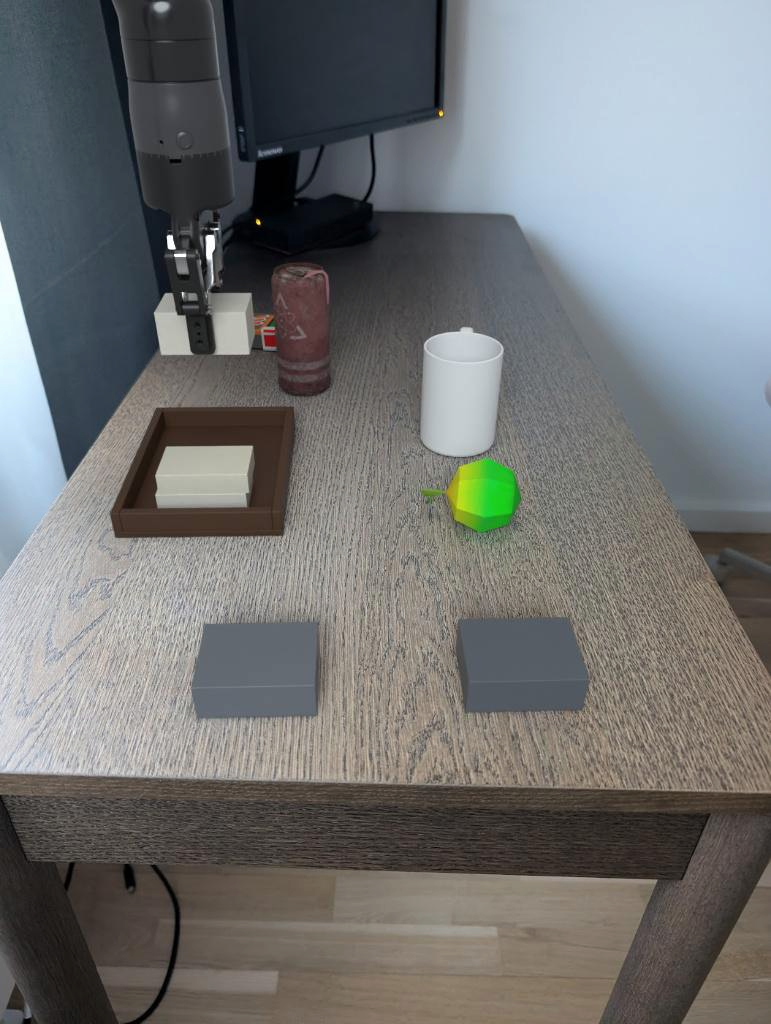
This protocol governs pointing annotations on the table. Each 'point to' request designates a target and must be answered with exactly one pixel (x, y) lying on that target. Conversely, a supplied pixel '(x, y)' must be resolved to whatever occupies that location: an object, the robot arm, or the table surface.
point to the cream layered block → (205, 477)
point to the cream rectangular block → (228, 321)
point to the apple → (482, 495)
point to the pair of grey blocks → (479, 647)
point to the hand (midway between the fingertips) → (208, 339)
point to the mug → (460, 392)
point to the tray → (210, 428)
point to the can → (301, 327)
